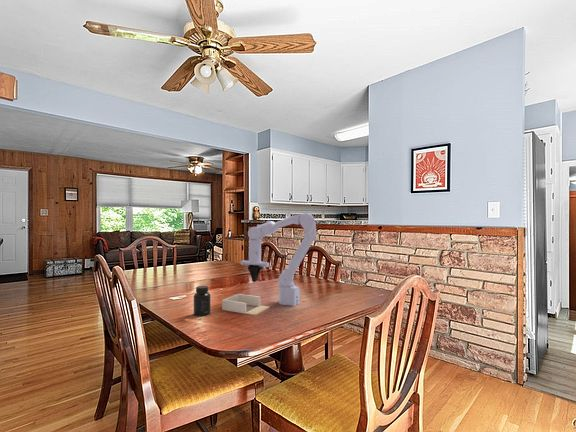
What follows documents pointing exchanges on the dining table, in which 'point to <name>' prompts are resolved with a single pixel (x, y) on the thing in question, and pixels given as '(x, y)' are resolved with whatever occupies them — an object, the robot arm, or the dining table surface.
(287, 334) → the dining table surface
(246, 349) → the dining table surface
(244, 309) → the carton
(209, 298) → the supplement bottle
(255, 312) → the flap
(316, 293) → the dining table surface
